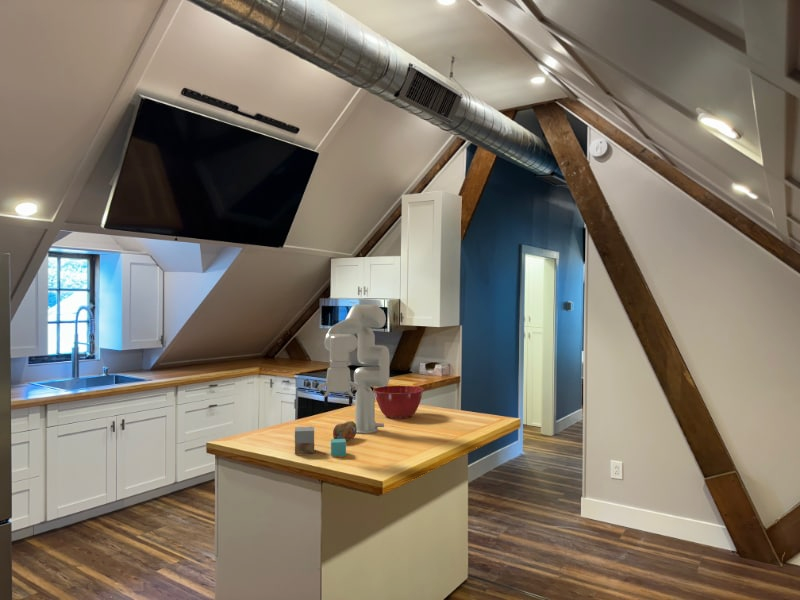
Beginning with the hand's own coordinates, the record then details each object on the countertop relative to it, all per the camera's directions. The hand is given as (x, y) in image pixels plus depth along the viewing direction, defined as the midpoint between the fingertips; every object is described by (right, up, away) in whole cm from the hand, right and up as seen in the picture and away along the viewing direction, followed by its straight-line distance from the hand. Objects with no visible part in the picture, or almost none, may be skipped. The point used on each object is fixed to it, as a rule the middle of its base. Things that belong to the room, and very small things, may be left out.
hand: (338, 405), depth 237 cm
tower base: (-15, -21, +4) cm, 26 cm away
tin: (0, -21, +24) cm, 32 cm away
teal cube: (0, -21, 0) cm, 21 cm away
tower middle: (-15, -16, +4) cm, 22 cm away
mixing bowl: (+25, -21, +81) cm, 87 cm away
